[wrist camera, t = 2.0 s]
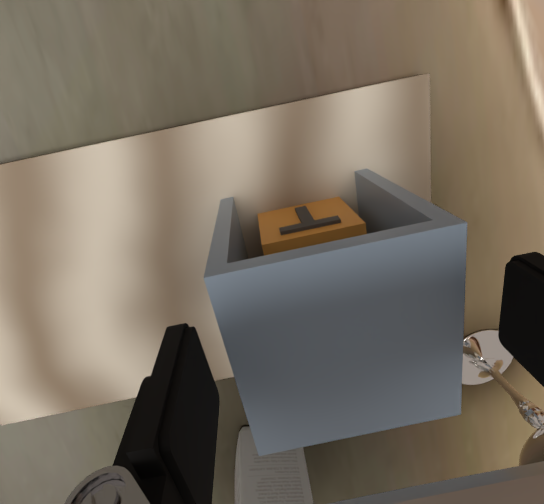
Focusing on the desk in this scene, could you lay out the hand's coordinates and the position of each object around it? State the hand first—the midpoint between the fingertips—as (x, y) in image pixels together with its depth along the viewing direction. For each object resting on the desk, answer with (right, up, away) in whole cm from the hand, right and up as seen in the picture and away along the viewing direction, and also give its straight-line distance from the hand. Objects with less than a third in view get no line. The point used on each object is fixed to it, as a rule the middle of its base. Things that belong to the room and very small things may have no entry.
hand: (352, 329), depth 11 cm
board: (-7, +1, +8) cm, 11 cm away
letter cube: (-1, +3, +7) cm, 8 cm away
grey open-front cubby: (-1, +2, +7) cm, 8 cm away
